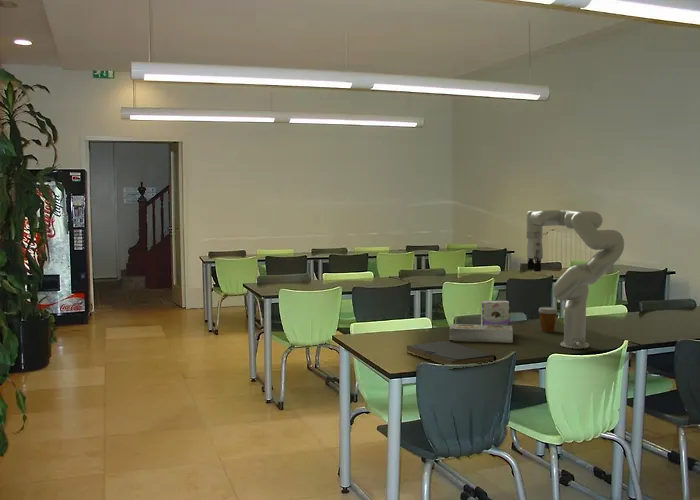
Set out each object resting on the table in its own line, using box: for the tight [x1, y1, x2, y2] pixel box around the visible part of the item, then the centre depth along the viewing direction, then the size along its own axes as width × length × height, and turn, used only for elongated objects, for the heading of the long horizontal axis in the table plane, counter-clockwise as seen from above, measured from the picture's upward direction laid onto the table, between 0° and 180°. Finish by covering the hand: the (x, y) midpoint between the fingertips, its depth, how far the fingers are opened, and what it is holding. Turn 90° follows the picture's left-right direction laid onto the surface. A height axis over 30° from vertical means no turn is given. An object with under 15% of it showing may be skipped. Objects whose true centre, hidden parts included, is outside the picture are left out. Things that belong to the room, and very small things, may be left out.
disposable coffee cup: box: [538, 306, 558, 333], centre depth 346 cm, size 10×10×12 cm
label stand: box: [448, 323, 514, 344], centre depth 329 cm, size 30×12×6 cm, turn 79°
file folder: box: [406, 340, 497, 364], centre depth 294 cm, size 33×4×24 cm
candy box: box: [480, 300, 510, 326], centre depth 343 cm, size 14×6×16 cm, turn 86°
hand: (534, 270), depth 330 cm, fingers open, 9 cm apart
